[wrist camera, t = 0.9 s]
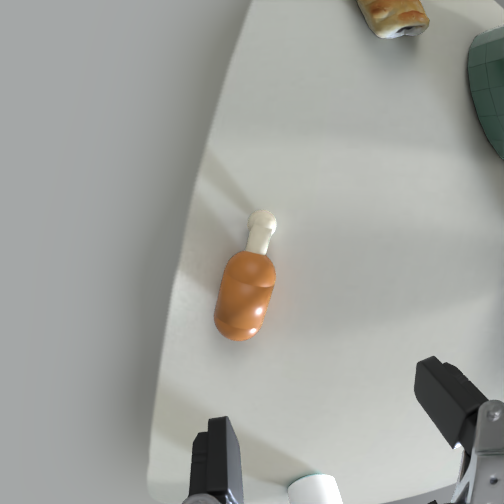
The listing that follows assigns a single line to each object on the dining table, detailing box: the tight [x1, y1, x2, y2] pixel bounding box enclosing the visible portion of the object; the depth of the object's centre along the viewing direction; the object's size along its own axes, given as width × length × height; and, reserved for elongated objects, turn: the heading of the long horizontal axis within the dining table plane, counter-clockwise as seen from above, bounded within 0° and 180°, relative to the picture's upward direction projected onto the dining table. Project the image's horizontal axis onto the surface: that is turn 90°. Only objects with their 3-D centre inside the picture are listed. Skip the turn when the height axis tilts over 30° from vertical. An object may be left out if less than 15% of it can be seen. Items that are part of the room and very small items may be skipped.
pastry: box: [357, 0, 429, 38], centre depth 19 cm, size 9×7×4 cm
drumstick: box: [214, 210, 276, 341], centre depth 24 cm, size 11×4×4 cm, turn 165°
